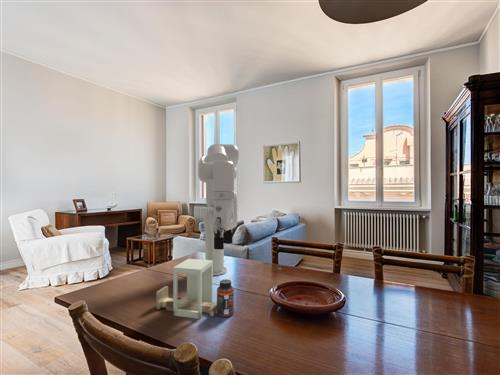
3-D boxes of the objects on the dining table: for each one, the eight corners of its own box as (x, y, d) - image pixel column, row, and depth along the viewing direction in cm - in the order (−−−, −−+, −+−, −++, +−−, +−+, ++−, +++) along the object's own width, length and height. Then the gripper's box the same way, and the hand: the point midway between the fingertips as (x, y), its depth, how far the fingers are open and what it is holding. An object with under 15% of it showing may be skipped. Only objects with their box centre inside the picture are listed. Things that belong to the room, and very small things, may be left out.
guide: (173, 303, 99) (173, 295, 99) (180, 304, 98) (180, 296, 98) (166, 310, 94) (166, 301, 94) (173, 311, 93) (173, 302, 93)
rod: (155, 309, 94) (155, 292, 94) (166, 301, 101) (166, 285, 101) (212, 316, 89) (212, 298, 89) (219, 307, 96) (219, 290, 96)
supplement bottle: (231, 318, 88) (231, 285, 88) (214, 316, 89) (214, 283, 89) (236, 310, 94) (235, 278, 94) (220, 308, 95) (220, 277, 95)
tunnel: (188, 301, 101) (188, 258, 101) (212, 304, 98) (212, 260, 98) (173, 315, 90) (173, 267, 90) (200, 318, 88) (200, 269, 88)
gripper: (225, 197, 82) (226, 252, 82) (240, 196, 99) (240, 241, 99) (203, 197, 84) (203, 251, 84) (221, 196, 101) (221, 240, 100)
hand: (223, 246), depth 91 cm, fingers open, 9 cm apart
